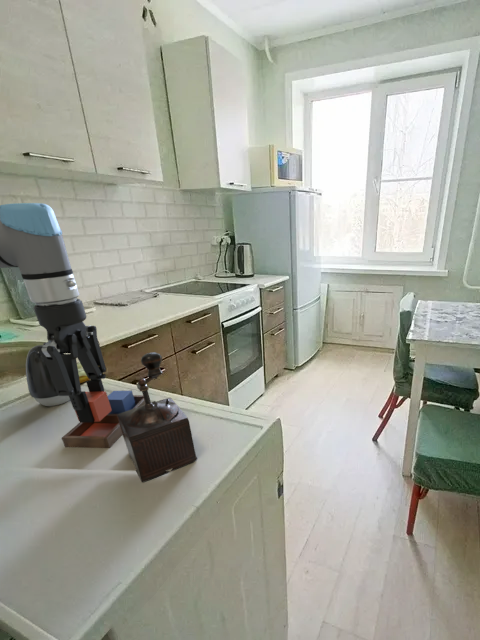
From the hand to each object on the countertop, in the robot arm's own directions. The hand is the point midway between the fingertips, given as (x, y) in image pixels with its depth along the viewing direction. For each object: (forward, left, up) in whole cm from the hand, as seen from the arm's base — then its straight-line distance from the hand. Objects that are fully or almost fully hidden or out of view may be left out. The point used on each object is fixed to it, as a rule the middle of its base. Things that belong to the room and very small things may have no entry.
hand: (94, 414), depth 72 cm
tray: (0, +4, -5) cm, 7 cm away
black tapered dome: (-21, +15, -6) cm, 27 cm away
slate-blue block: (0, +9, -5) cm, 10 cm away
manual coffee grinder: (+15, -5, -6) cm, 17 cm away
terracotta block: (0, 0, 0) cm, 0 cm away
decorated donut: (-25, +29, -6) cm, 39 cm away
